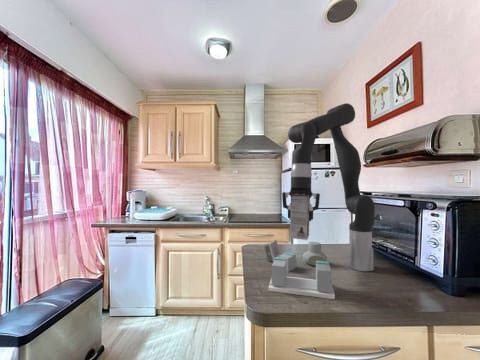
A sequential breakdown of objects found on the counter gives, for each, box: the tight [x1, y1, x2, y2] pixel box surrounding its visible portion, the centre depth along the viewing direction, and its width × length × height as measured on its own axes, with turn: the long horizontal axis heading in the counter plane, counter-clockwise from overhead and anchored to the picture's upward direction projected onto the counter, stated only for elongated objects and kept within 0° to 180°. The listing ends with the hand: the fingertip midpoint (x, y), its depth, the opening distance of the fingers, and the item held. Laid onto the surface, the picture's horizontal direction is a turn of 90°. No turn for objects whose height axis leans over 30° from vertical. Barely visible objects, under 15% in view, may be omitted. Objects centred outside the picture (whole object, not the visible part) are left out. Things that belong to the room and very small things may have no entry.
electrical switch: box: [263, 239, 281, 263], centre depth 118 cm, size 9×5×9 cm, turn 152°
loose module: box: [278, 251, 297, 273], centre depth 106 cm, size 5×7×6 cm
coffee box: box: [289, 194, 311, 241], centre depth 89 cm, size 9×6×16 cm
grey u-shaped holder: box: [268, 257, 336, 300], centre depth 86 cm, size 22×12×9 cm, turn 75°
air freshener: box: [302, 241, 328, 267], centre depth 113 cm, size 11×8×10 cm
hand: (300, 220), depth 89 cm, fingers closed on coffee box, 6 cm apart
